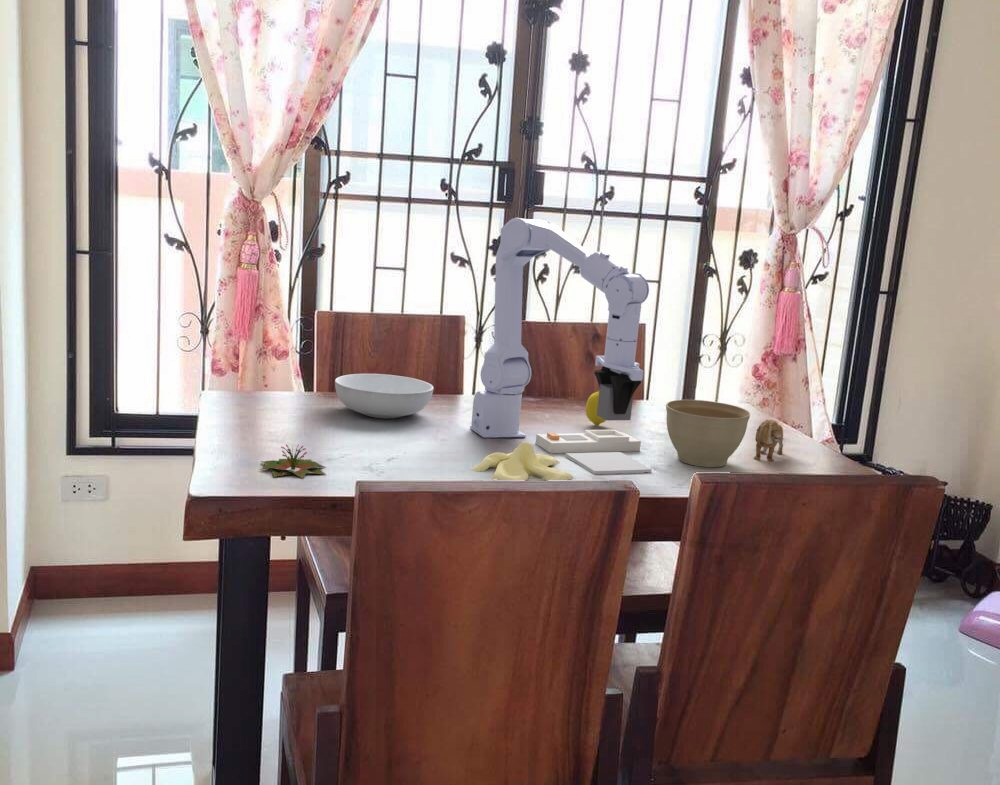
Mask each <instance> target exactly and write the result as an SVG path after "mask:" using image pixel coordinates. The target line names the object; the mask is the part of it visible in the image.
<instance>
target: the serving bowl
mask: <svg viewBox="0 0 1000 785" xmlns="http://www.w3.org/2000/svg"><path fill="white" fill-rule="evenodd" d="M334 386H335V392H336V393H335V394H336V395H337V397H338V399H339V400H340V402H341V403H342V404H343V405H344V406H345V407H347V408H348V409H350V410H352V411H354V412H356V413H360V414H362V415H365V416H367V417H370V418H377V419H398V418H401V417H407V416H410V415H413V414H416V413H419V412H421V411H423V409H424V408H426V407H427V406H428V405H429V404H430V401H431V399H432V396H433V394H434V393H433V392H434V390H435V389H434V386H433V384H431V383H429V382H427V381H424V380H421V379H418V378H414V377H410V376H409V377H408V376H401V375H395V374H394V375H393V374H385V373H354V374H353V373H351V374H346V375H345V374H344V375H341V376H338V377H336V378H335V380H334Z"/></svg>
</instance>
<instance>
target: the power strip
mask: <svg viewBox="0 0 1000 785" xmlns="http://www.w3.org/2000/svg"><path fill="white" fill-rule="evenodd" d="M641 443H642V441H641V440H639V439H637V438H635V437H634V436H631V435H629V434H627V433H626V432H621V431H618V430H616V429H584V432H583V433H581V432H580V433H579V432H578V433H577V432H576V433H575V432H574V433H573V432H572V433H571V432H570V433H556V432H547V433H536V434H535V444H536V446H538V447H540V448H542V449H543V450H545V451H546V452H548V453H550V454H562V453H565V454H566V453H600V452H640V451H641Z"/></svg>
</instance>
